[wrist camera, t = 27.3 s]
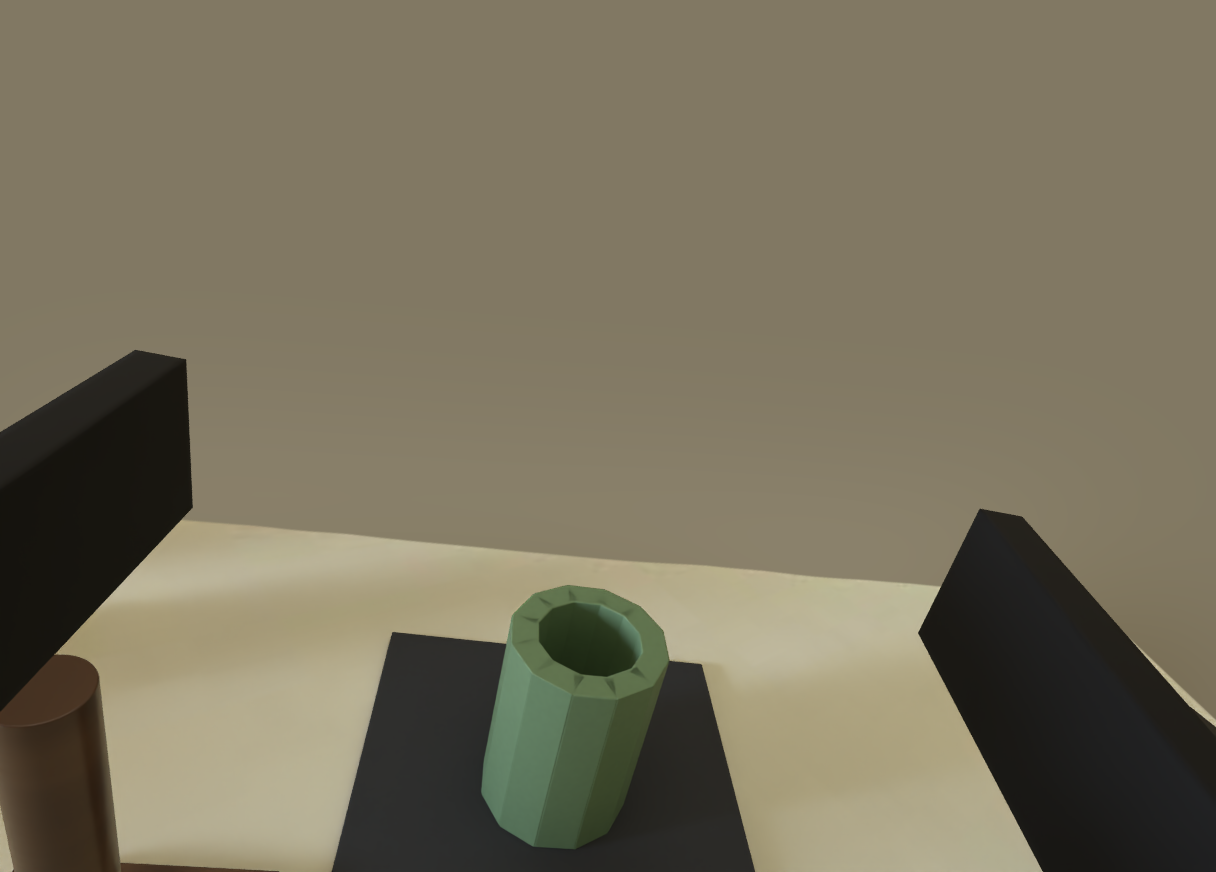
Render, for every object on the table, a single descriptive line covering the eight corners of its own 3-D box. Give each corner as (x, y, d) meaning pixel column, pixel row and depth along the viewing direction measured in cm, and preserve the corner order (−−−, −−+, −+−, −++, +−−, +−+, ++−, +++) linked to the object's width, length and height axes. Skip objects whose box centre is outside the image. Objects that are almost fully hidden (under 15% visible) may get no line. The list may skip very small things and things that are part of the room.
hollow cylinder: (616, 732, 44) (656, 595, 39) (629, 853, 37) (679, 705, 33) (486, 720, 43) (514, 578, 38) (476, 843, 36) (508, 689, 32)
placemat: (700, 668, 51) (701, 663, 50) (785, 1006, 33) (788, 1000, 33) (391, 636, 47) (392, 631, 47) (302, 992, 30) (302, 986, 29)
